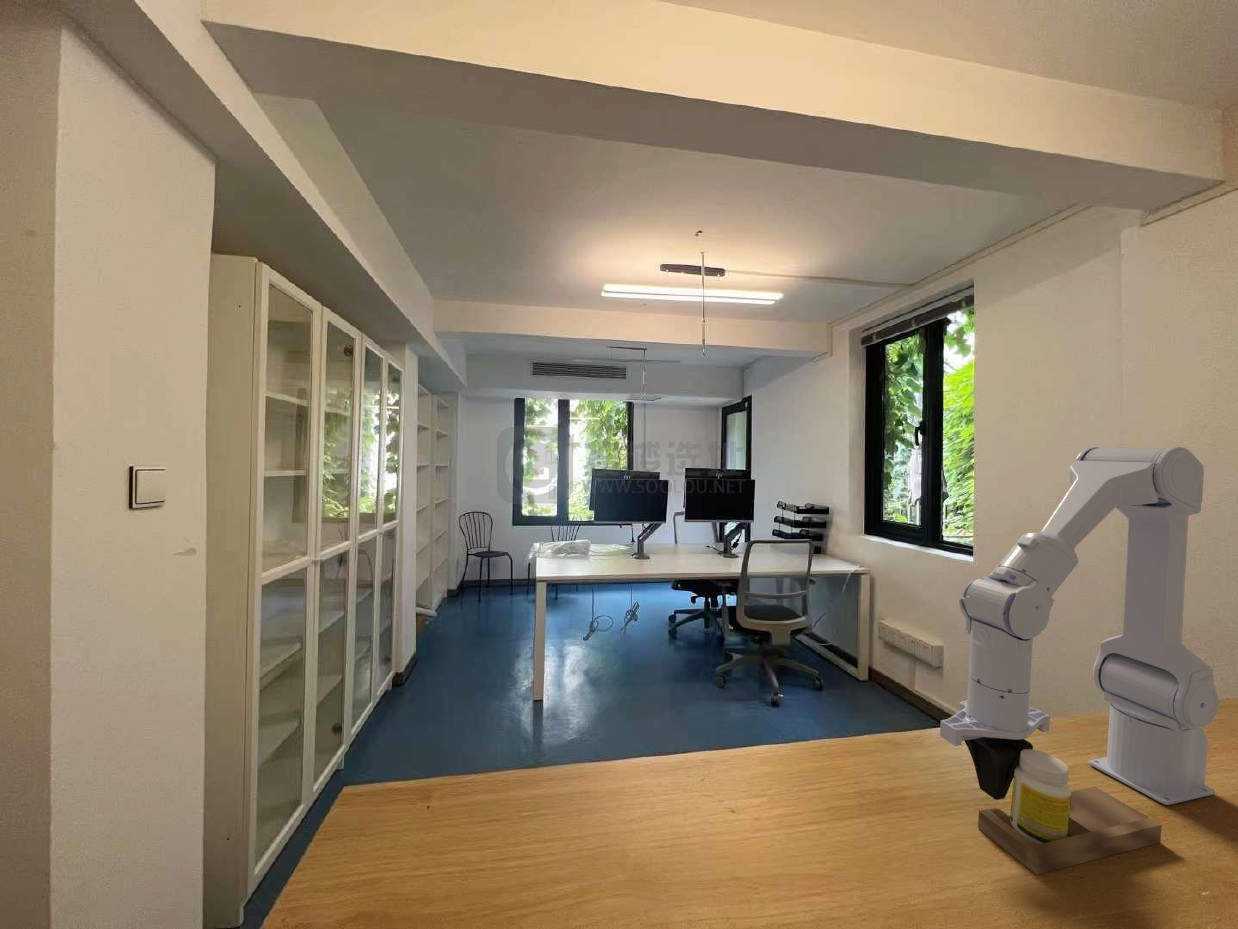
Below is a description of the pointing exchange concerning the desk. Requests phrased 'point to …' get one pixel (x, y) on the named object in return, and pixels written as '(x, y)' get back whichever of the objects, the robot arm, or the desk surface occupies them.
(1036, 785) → the supplement bottle
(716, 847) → the desk surface
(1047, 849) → the notched board
